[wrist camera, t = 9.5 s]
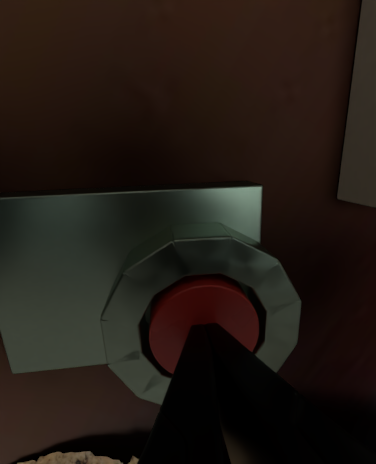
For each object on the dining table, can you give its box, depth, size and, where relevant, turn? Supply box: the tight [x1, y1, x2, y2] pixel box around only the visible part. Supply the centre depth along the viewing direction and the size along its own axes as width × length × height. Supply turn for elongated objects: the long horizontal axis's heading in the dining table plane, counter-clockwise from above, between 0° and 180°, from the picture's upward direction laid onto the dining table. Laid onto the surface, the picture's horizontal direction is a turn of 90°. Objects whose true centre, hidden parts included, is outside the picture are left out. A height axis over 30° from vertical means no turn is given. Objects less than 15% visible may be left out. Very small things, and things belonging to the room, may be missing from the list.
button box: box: [0, 181, 301, 405], centre depth 10 cm, size 11×8×4 cm
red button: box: [149, 273, 259, 374], centre depth 9 cm, size 4×4×2 cm
